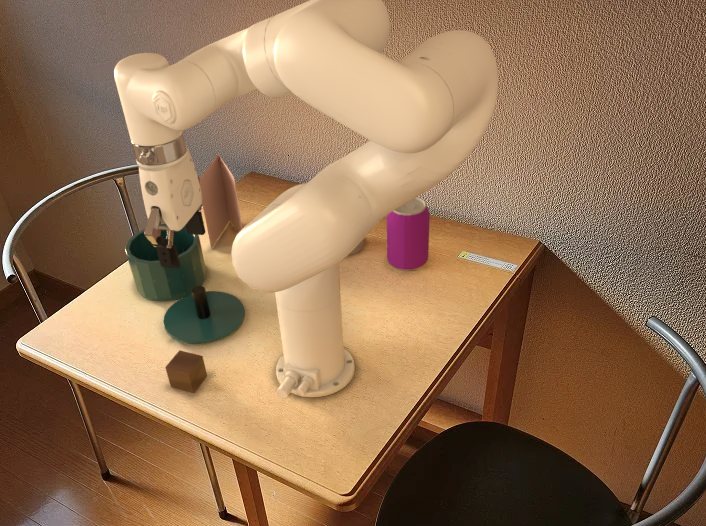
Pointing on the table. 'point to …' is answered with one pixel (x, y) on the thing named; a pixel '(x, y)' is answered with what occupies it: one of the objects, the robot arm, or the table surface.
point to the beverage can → (408, 235)
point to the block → (186, 371)
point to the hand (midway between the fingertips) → (184, 249)
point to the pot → (162, 280)
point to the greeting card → (219, 200)
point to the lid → (204, 316)
